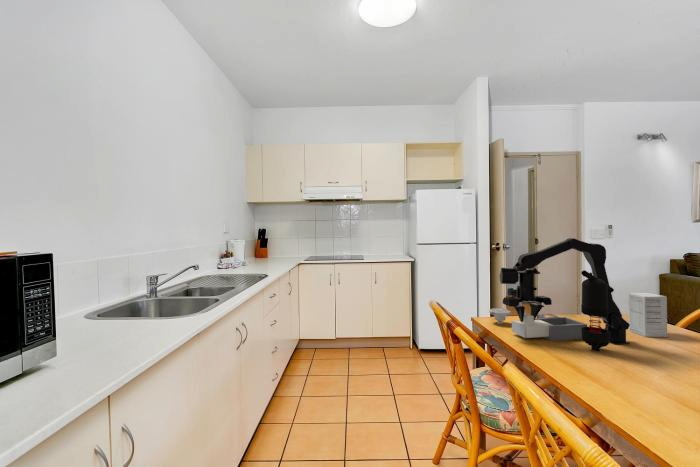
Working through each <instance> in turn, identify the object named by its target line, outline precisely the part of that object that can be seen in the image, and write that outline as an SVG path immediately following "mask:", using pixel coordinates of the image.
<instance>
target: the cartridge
mask: <svg viewBox="0 0 700 467" xmlns="http://www.w3.org/2000/svg"><path fill="white" fill-rule="evenodd" d="M549 325H552V324H549V323H547V322H544V321H542V320H534V316H532V315H531V313H530V314H529V313H527V312H524V319H523V322H521V321H520V320H513V319H512V320H511V332H512V333H514V334H515V335H517V336H520V337H521V338H524V339H530V338H544V337H549Z"/></svg>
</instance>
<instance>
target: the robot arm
mask: <svg viewBox="0 0 700 467" xmlns="http://www.w3.org/2000/svg"><path fill="white" fill-rule="evenodd" d="M572 249H573V250H575V251H578V252H580V253H582V254H583V256H584V258H585V261H586V262H587V263H588V264H589V266H590V268H591V273H592V275H593V276H595V277H596V278H598V279H601V280H603V281H605V282H607V283H608V284H607V285H609V286H610V287H611V285H610V282H609V279H608V275H607V271H606V270H607V269H606V266H605V265H606V264H605V263H606V260H607V250H606V248H605V246H604V245H602V244H600V243H592V242H591V243H589V242H585V241H582V240H579V239H576V238H574V237H573V238H571V237H570V238H567V239H565V240H563V241H560V242H557V243H554V244H552V245H550V246H547V247H545V248H543V249H539V250H537V251H532V252H531V251H530V252H527V253H523V254H520V255H519V256H518V259H517V262H516V263H515V264H514V266H513V267H511V268H510V267H508V268H507V267H500V272H499V283H500V284H502V285H516V284H517V283H518V285H517V287H516V289H514V288H512V287H508V288H507V296H505V297H503V299H502V304H503V305H505V306H508V307H513V308H514V309H515V311H516V313H517V316H518V319H519V321H521V322H523V319H524V313H525V308H526V307H525V306H523V304H529V307H530V315H532V316H534V320H535V318H537V315H538V314H539V313H540V312H541V310H542V308H545V306H551V305H553V302H552V299H551V297H548V296H545V295H536V293H535V291H537V290H538V288H537V287H535V284H536V283H535V281H536V280H535V277H536V276H535V275H540V274H541V271H539V270H538V268H536V266H538V265H539V264H542V262H544V261H545V260H547V259H550V258H552V257H555V256H557V255H560V254H562V253H566V252H568V251H570V250H572ZM612 294H613V293H612V292H608V316H606V317H601V318H600V320H602V322H603V324H605V325H604V326H605V327H604V329H606V330H609V331H610V332H611V334H610V343H609V344H613V345H629V344H630V341H628V340H627V330H628V328H629V326H630V324H629V323H628V321H627V320H625V319H624V318H623V314H622V312H621V310H620V307H619V306H618V305H617V304H616V302H615V301H614V299H613V295H612Z"/></svg>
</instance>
